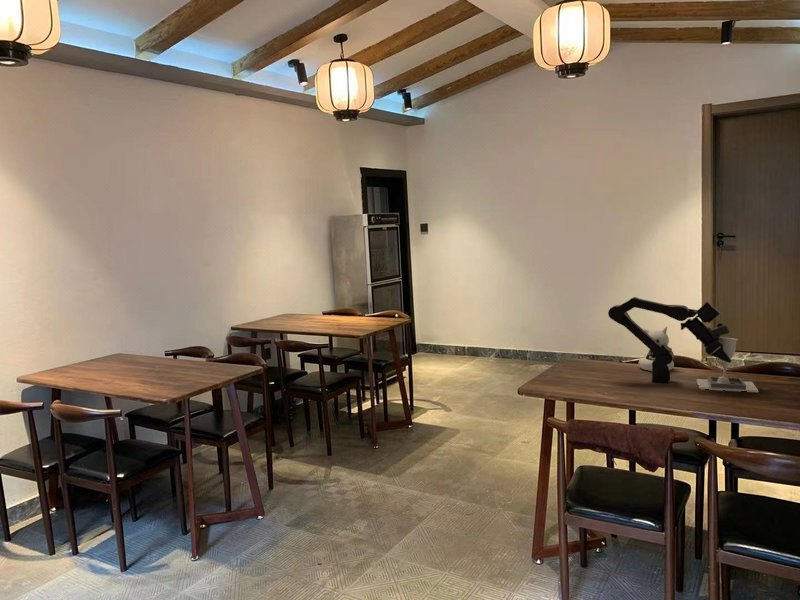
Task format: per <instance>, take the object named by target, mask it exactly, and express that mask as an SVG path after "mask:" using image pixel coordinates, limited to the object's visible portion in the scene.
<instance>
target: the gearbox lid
mask: <svg viewBox="0 0 800 600" xmlns="http://www.w3.org/2000/svg"><path fill="white" fill-rule="evenodd" d="M719 377H720V376H709V375H708V376H707V379H705V378H703V379H702V378H696V383H697V386H698V385H699V386H698V388H699V390H705V389H709V391H723V390H725V391H726V392H741V391H747V392H746V393H759V389H758V388H757V387H756V385H755V384H754V382H753V381H744V380H743V378H742V377H727V376H726V377H727V378H728V379H729V381H730V384H723V383H717V381H718V379H719Z"/></svg>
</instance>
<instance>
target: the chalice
mask: <svg viewBox="0 0 800 600" xmlns="http://www.w3.org/2000/svg"><path fill="white" fill-rule="evenodd" d="M718 338H719V341H720V342H721V343H722V344H723V350H724V351H725V353H726V354H727V355H728V357H729V358H730V360H731V359H732V358H733V357H734V355H735V353H736V348H737V342H738V340H739V339H738V338H732V337H723V336H722V337H718ZM722 361H723V365H722V367H723V368H722V375H721V376H718V377H719V379H718V381H717V383H723V384H730V381H729V379H728V378H727V375H726V373H727V372H728V371H727V368H728V365H727V364H728V362H726V361H724V360H722ZM731 361H732V360H731Z"/></svg>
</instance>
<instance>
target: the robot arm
mask: <svg viewBox="0 0 800 600" xmlns="http://www.w3.org/2000/svg"><path fill="white" fill-rule="evenodd" d="M634 308H637V309H639V310H640V309H642V310H646V311H650V312H653V313H658V314H662V315H665V316H667V317H669V318H671V319H674V320H676V321H678V322H681V323H680V331H684V329H687V330H688V331H689V332H690V333H691V334H692V335H693V336H694V337H695V339H696V340H697V341H700V342H701V343H702V344H703V346H704V348H705V351H704V352H705V353H707V354H708V356H711V357H714V358H716V359H719V360H721V361H723V360H724V361H726V362H727V364H728V363H731V362H732V360H730V358H729V357H728V355H727V354H726V353H725V351H724V350H723V344H722V343H721V342H720V341H719V338H718V337H723V336H722V335H727V334H728V335H729V333H731V332H730V329H729V327H728V325H727V323H722V322H719V323H717V324H716V327H714V328H711V327H708V326H706V325H705V324H706V323H708V324H710V323H712V321H714V320H715V319H716V318H718V317H719V316H720V315H721V313H722V312H720V310H719V309H718V308H716V306H714V305H712V304H711V303H710V302H709V301H706V302H705V303H703V305H702V306H700V307H699V308H698V309H692V308H689V307H687V305H684V304H683V305H682V304H681V305H680V304H665V303H660V302H656V301H651V300H648V299H643V298H639V297H636V296H633V297H632V298H630V299H629V300H627V301H625V302H624V303H621V304H616V305H615V304H614V305H613V306H612V307H610V309H608V313H607V314H608V317H609V318H610V319H611V320H612V321H614V322H615V323H617V324H619V325H621V326H623V327H624V328H626V329H627V330H628V331H629V332H630V333H631V334H632V335H633V336H635V337H636V338H637V339H638V340H639V341H640V342H641V343H642V344H644V346H646V347H647V348H648V350H651V352H652V353H653V355H654V356H655V359H654V360H653V362H652V371H651V383H660V384H662V383H664V384H669V383H670V382H671V370H669V367H668V366H667V364H670V363H671V362H672V361H673V360H674V357H675V355H674V351H672V350H673V348H671V347H669V345H666V343H665V342H664V343H663V345H662V344H660V343H658V342H656V341H655V340H654V339H653V338H652V337H651V336H650V335H649V334H647V333H646V332H645V331H644V328H642V327H641V326H640V325H639V324H638V323H636V322H635V321H634V320H633V319H632V318H631V316H630V315H629V313H628V312H629V311H630V310H632V309H634ZM691 318H692V319H691ZM684 321H685V322H684ZM724 361H723V362H724Z"/></svg>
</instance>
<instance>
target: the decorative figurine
mask: <svg viewBox="0 0 800 600" xmlns="http://www.w3.org/2000/svg"><path fill="white" fill-rule="evenodd" d="M643 330H644V331H645V332H646V333H647V334H649V335H650V336H651V337H652V338H653V339H654V340H655V341H656V342H658V343H660V344H662V345H663V343H664V342H665V343H666V345H667V346H669V343H670V342H669V341H670V340H669V336H668V334H667V331H668V326H666V327H664V328H663V329H662V330H661V329H653V330H649V329H645V328H643ZM647 352H648V353H647V354H646V356H645V357H642V358H640V359H639V360H638V366H639V368H640V369H642V370H645V371H647V370H648V372H652V362H653V360H654V359H655V356H654V355H653V353H652V352H651V350H650V349H648V351H647ZM667 366H668V367H669V370H670V371H671V370H673V368H674V367H675V362H674V361H673V360H672V362H671V363H670V364H667Z"/></svg>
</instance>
